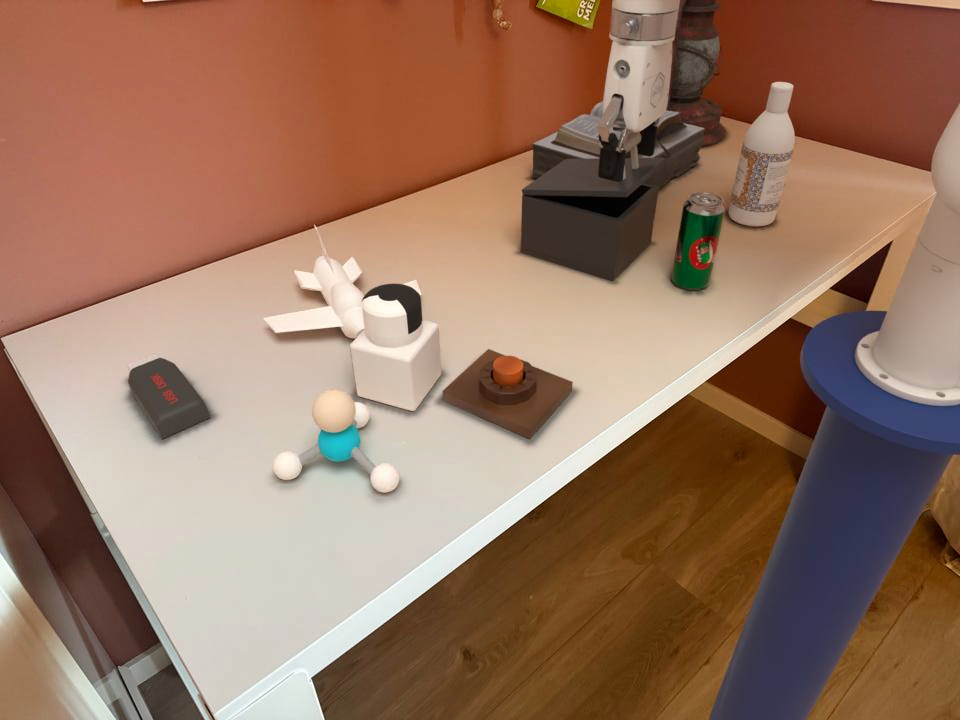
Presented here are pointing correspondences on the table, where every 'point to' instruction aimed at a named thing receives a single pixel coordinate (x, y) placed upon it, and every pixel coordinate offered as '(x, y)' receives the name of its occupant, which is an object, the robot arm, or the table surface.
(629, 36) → the robot arm
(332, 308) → the airplane model
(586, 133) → the bible
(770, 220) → the bath foam
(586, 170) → the door
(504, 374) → the button
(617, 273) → the dark grey box
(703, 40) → the lantern
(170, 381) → the usb drive
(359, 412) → the molecule model
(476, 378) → the brown base plate
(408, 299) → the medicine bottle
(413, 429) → the table surface
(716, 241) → the soda can
